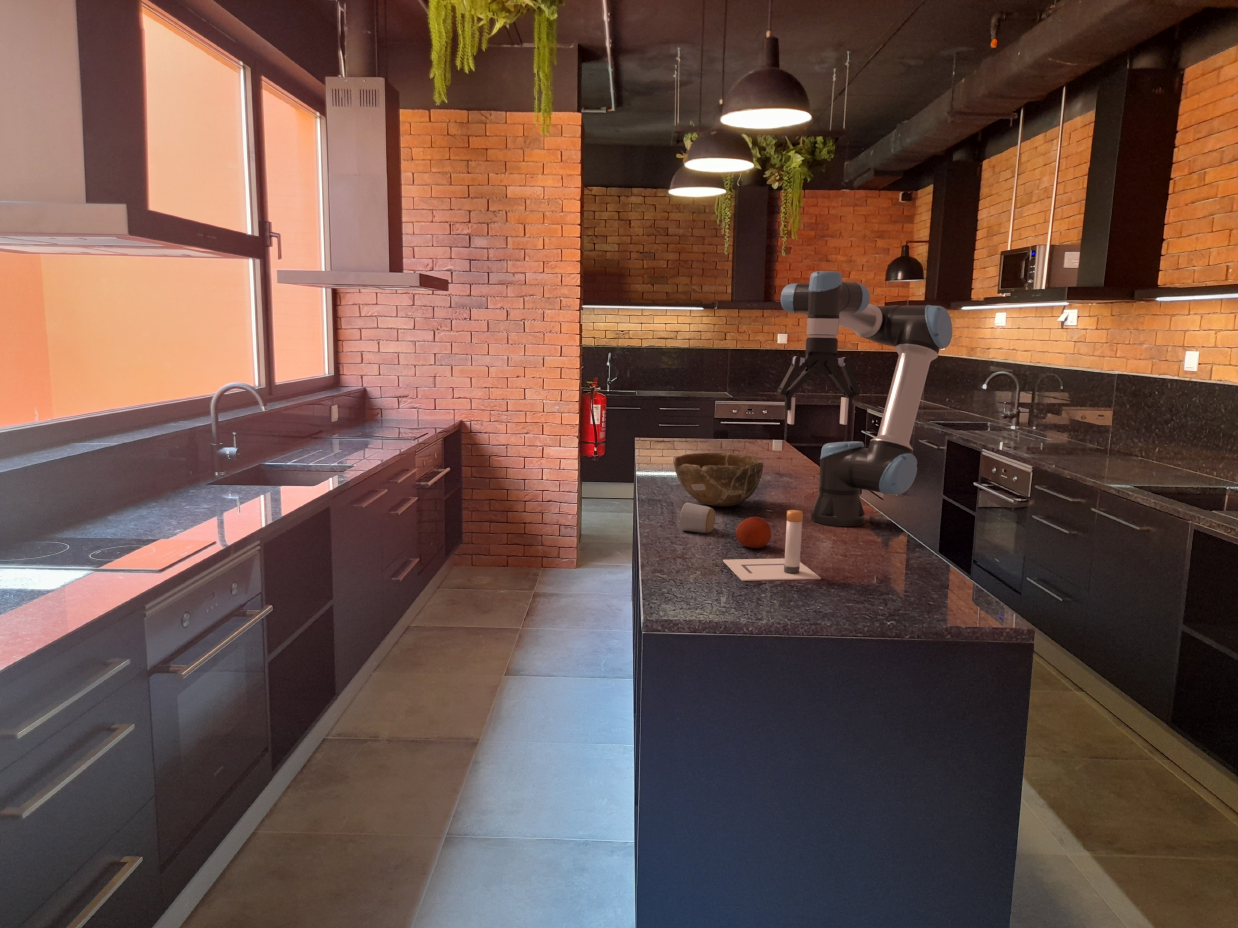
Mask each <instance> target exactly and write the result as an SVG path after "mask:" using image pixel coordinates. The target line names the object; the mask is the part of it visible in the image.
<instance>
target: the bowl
mask: <svg viewBox="0 0 1238 928" xmlns="http://www.w3.org/2000/svg"><path fill="white" fill-rule="evenodd" d="M673 467H674V472H675V475H676V476H677V479H678V481H679V483H680V485H681V486H682V487H683V488H684V489H685V491H686V492H687V493H688V494H689V495H690V496H691V497H692V498H693V499H695V500H696V501H697V502H699V503H700V504H702V505H703V506H712V507H727V508H728V507H733V506H738V505H739V504H741V503H743V502H745V501H746V500H747V499H748V498H750V497H751V496H752V495H753V494H754V493H755V492H756V489H757V488H758V485H759V484H760V480H761V478H762V476H763V472H764V471H763V470H764V462H762V460H760V459H758V458H756V457H754V455H747V454H739V453H732V452H731V453H729V452H728V453H725V452H698V453H695V452H694V453H686V454H681V455H679V456H675V457H674V458H673Z"/></svg>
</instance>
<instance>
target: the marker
mask: <svg viewBox="0 0 1238 928" xmlns="http://www.w3.org/2000/svg"><path fill="white" fill-rule="evenodd" d="M803 515H804V512H803V511H802V510H799V509H798V510H797V509H788V510H786V524H785V525H786V527H785V545H784V558H785V561H784V572H785V573H788V574H798V573H799V569H800V562H801V549H802V548H801V546H802V533H803V532H802V531H803Z"/></svg>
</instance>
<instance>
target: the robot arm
mask: <svg viewBox="0 0 1238 928" xmlns="http://www.w3.org/2000/svg"><path fill="white" fill-rule="evenodd" d="M780 294H781V295H780V305H781V308H782V309H783V310H784V311H785V312H786V313H793V314H798V313H799V314H804V315H807V323H806V335H807V336H808V337H806V339H805V355H804V357H801V356H795V355H794V356H792V358H791V365H790V367H789V369H788V370H787V373H786V374H785V376H784V378H783V379H782V382H781V383H780V386H779V387H778V389H777V394H779V395H782V396H783V397H784V407H783V408H784V410H785V411H787V420H786V421H787V422H786V423H787V424H789V425H794V424H795V411H796V410H795V409H796V397H793V396H794V394H796V392H798V390H799V389H800V388H801V387H802V386H803V384H804V383H806V381H807V380H808V379H809V378H810V377H812V376H829V377H830V378H831V380H832V381H833V382H834V383H835V385H836V386H837V388H838V389H839V390H840V392H841V393H842V395H843V396H844V397H843V396H842V397H840V410H839V412H840V413H839V424H840V425H846V426H847V425H848V415H849V413H848V412H851V410H852V403H853V399H854V398H855V397H856V396H859V395H861V391H860V389H859V386H858V383H857V382H856V381H857V380H856V379H855V378H856V377H855V376H854V374H853V371H852V369H851V367H850V366H851V365H850V364H851V363H850V362H851V361H850V358H849V357H848V356H846V357H845V356H842V357H839V358H838V346H839V343H838V342H839V339H838V338H837V337H838V336H839V334H840V333H839V328H840V327H842V328H845V329H848V330H851V331H853V333H854V334H855V335H856V336H858V337H860V338H863V339H866V340H868V341H870V342H873V343H877V344H879V345H880V344H881V345H883V346H888V347H895V348H894V350H895V352H896V353H897V354H898V358H897V361H896V365H895V369H894V372H893V376H892V380H891V383H890V384H891V385H890V388H889V391H888V395H887V399H886V402H885V406H884V410H883V413H882V418H881V421H880V425H879V429H878V432H877V436H874V437H873V438H871V439H870V440H869V445H868V448H867V447H865V444H864V442H863V441H852V440H851V441H837V442H828V443H824V444H823V446H822V448H821V452H820V457H819V460H820V461H819V463H820V464H819V479H818V480H819V481H818V494H817V497H816V499H815V502H814V504H813V506H812V510H811V512H810V513H811V514H810V519H811V521H813V522H815V523H818V524H822V525H826V526H834V527H857V526H862V525H864V524H865V522H866V515H865V510H864V506H863V502H862V499H861V490H864V491H869V492H875V493H876V492H877V493H881V494H883V495H895V496H896V495H902V494H904V493H905V492H906V491H907V490H909V489H910V487H911V486H913V485H912V484H913V483H914V481H915V478H916V476H917V473H918V466H917V465H918V460H917V458H916V456H915V455H914V454H913V453H914V452H913V451H914V449H913V447H912V445H911V444H910V441H911V439H912V438H911V437H912V434H913V429H914V426H915V422H916V418H917V414H918V410H919V406H920V402H921V399H922V395H923V391H924V387H925V385H926V380H927V376H928V373H929V368H930V366H931V365H930V364H931V363H932V361H934V360H936V359H937V358H938V357H939V352H940V350H944V349H947V348H948V347H949V345H950V344H951V342H952V338H953V323H952V317H951V316H950V313H949V311H948V310H947V308H945V307H943V306H942V305H931V304H926V305H876V304H872V303H870V300H871V293H870V290H869V289H868V287H867V286H866V285H864V284H862V283H858V282H856V281H853V282H850V281H843V276H842V273H841V272H840V271H833V270H832V271H831V270H828V271H827V270H819V271H814V272H812V273H811V274H810V277H809V282H805V283H804V282H803V283H800V282H796V283H790V284H787V285H785V286H784V287H783V289H782V291H781V293H780ZM803 364H804V366H805V368H804V369H803V371H801V373H800V375H799V376H798V377H797V378H796V379H795V380H794V378H795V376H796V374H797V373H798V370H799V369H800V366H802V365H803ZM837 365H838V366H840V367H841V370H842V373H843V376H844V378H845V380H846V383H847V384H846V383H845V381H844V380H843V379H842V377H841V376H840V375H839V372H838V371H837V370H836V368H835V367H836V366H837ZM792 381H794V382H792ZM847 385H848V386H847Z"/></svg>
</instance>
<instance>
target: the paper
mask: <svg viewBox="0 0 1238 928" xmlns="http://www.w3.org/2000/svg"><path fill="white" fill-rule="evenodd" d="M784 561H785V557H784V558H783V557H781V558H745V559H743V558H741V559H739V558H738V559H737V558H736V559H722V562H723V563H724V564H725V565H726V566H727V567H728V568H729V569H730V570H731V571H732V572H733V573H734V574H735V575H736V577H737V578H739V580H741V581H742V582H746V581H747V582H751V581H752V582H754V581H756V582H758V581H760V582H761V581H791V580H792V581H795V580H796V581H799V580H805V581H806V580H821V579H822V578H821V576H819V575H818V574H817V573H815V572H814V571H813V570H811V569H810V568H809V567H807V566H806V565H805V564H803V562H801V561H800V569H799V573H798V574H788V573H785V572H784Z"/></svg>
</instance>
